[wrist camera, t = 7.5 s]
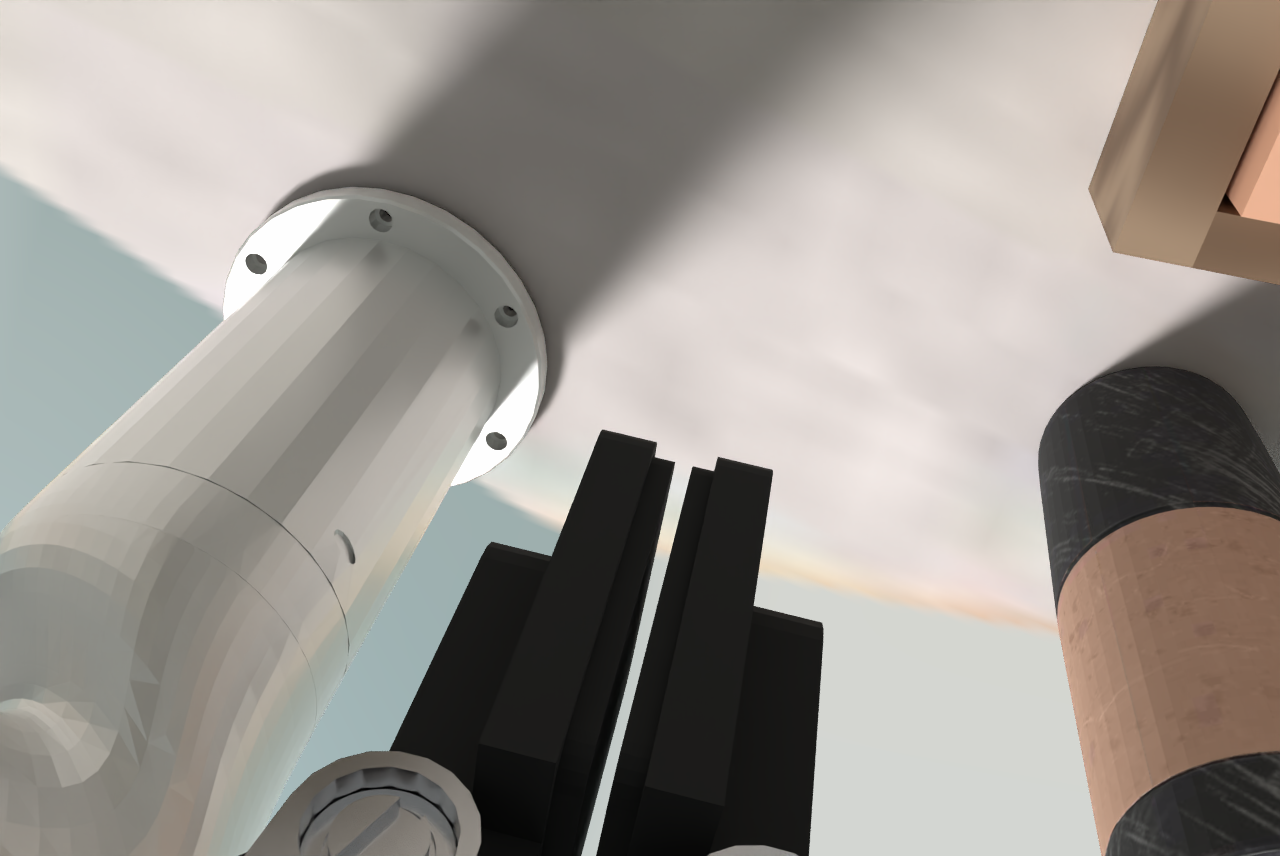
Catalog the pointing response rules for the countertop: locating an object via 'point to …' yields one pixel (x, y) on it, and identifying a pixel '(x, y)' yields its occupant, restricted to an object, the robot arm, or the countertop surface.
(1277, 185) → the peach square block
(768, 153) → the countertop surface
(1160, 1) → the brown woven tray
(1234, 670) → the travel mug
